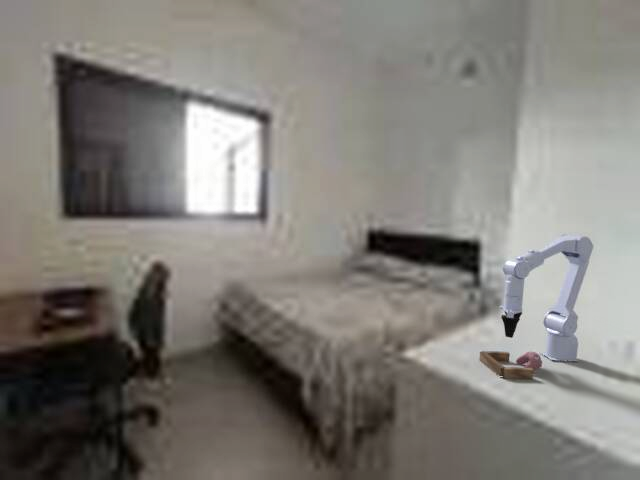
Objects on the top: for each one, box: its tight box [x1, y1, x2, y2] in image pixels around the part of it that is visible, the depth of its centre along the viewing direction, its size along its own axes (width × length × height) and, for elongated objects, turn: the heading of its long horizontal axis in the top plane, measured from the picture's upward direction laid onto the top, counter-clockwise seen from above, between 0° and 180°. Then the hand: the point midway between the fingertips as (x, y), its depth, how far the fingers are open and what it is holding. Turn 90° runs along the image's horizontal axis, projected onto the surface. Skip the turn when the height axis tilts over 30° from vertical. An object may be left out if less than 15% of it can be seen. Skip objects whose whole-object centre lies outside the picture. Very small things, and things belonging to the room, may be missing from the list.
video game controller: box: [515, 350, 543, 372], centre depth 142 cm, size 10×5×7 cm, turn 169°
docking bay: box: [479, 350, 535, 380], centre depth 141 cm, size 10×16×3 cm, turn 4°
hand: (510, 334), depth 149 cm, fingers open, 7 cm apart
